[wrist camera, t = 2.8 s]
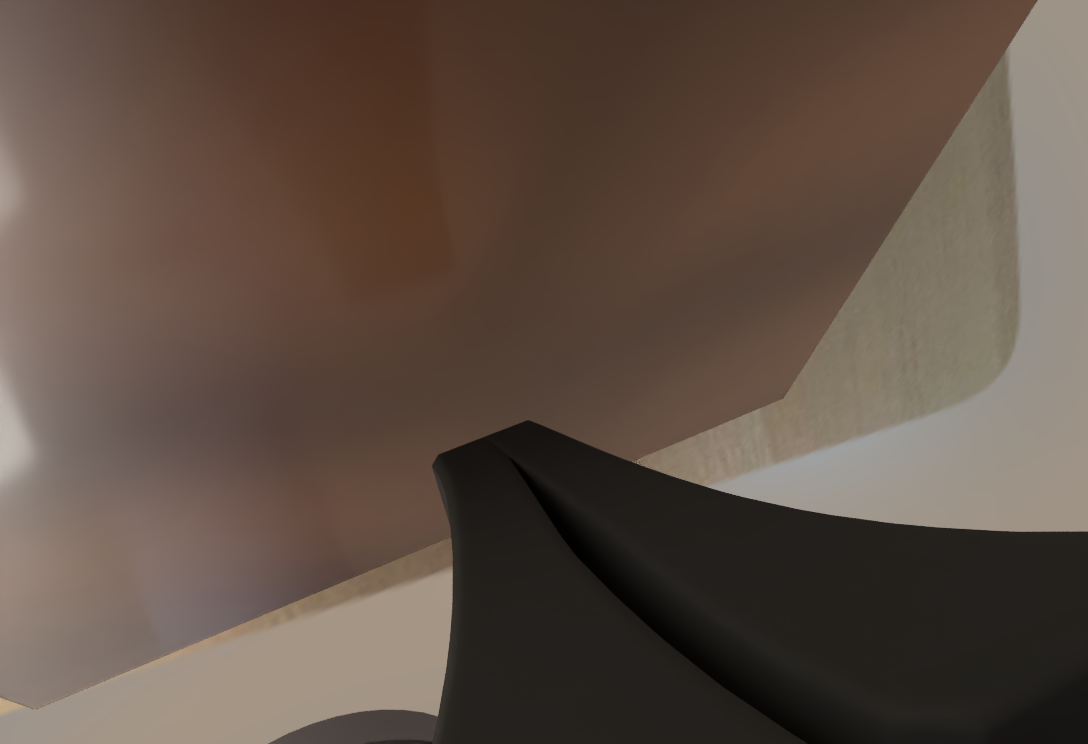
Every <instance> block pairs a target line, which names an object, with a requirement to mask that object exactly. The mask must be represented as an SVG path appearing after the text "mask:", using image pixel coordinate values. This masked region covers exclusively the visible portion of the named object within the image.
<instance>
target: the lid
mask: <svg viewBox="0 0 1088 744" xmlns="http://www.w3.org/2000/svg"><path fill="white" fill-rule="evenodd" d="M1036 2H1037V0H0V697H1V698H4V699H6V700H9V701H12V702H15V703H18V704H20V705H23V706H26V707H29V708H31V709H38V708H41V707H43V706H46V705H48V704H51V703H53V702H55V701H58V700H60V699H63V698H65V697H67V696H70V695H72V694H75V693H77V692H79V691H82V690H84V689H87V688H89V687H91V686H94V685H96V684H99V683H101V682H103V681H106V680H108V679H111V678H113V677H115V676H118V675H120V674H123V673H125V672H127V671H130V670H132V669H135V668H137V667H139V666H142V665H144V664H147V663H149V662H151V661H154V660H156V659H159V658H161V657H163V656H166V655H168V654H171V653H173V652H175V651H178V650H180V649H183V648H185V647H187V646H190V645H192V644H195V643H197V642H199V641H202V640H204V639H207V638H209V637H211V636H214V635H216V634H219V633H221V632H223V631H226V630H228V629H231V628H233V627H235V626H238V625H240V624H243V623H245V622H247V621H250V620H252V619H255V618H257V617H259V616H262V615H264V614H267V613H269V612H271V611H274V610H276V609H279V608H281V607H283V606H286V605H288V604H291V603H293V602H295V601H298V600H300V599H303V598H305V597H307V596H310V595H312V594H315V593H317V592H319V591H322V590H324V589H327V588H329V587H331V586H334V585H336V584H339V583H341V582H343V581H346V580H348V579H351V578H353V577H356V576H358V575H360V574H363V573H365V572H368V571H370V570H372V569H375V568H377V567H380V566H382V565H384V564H387V563H389V562H392V561H394V560H396V559H399V558H401V557H404V556H406V555H408V554H411V553H413V552H416V551H418V550H420V549H423V548H425V547H428V546H430V545H432V544H435V543H437V542H440V541H442V540H444V539H447V538H449V537H451V528H450V524H449V521H448V518H447V515H446V511H445V508H444V505H443V501H442V498H441V495H440V491H439V488H438V485H437V482H436V478H435V475H434V472H433V468H432V464H433V462H434V461H435V459H436V457H437V456H438V454H441V453H443V452H446V451H449V450H451V449H454V448H456V447H459V446H462V445H464V444H467V443H469V442H472V441H475V440H477V439H480V438H482V437H485V436H488V435H490V434H493V433H495V432H498V431H501V430H503V429H506V428H508V427H511V426H514V425H516V424H519V423H521V422H524V421H527V420H530V421H532V422H535V423H538V424H540V425H542V426H545V427H547V428H550V429H552V430H554V431H557V432H559V433H561V434H564V435H566V436H568V437H571V438H573V439H576V440H578V441H580V442H583V443H585V444H588V445H590V446H592V447H595V448H597V449H600V450H602V451H605V452H607V453H610V454H612V455H614V456H617V457H620V458H622V459H625V460H627V461H630V462H632V461H634V460H636V459H639V458H641V457H644V456H646V455H648V454H651V453H653V452H656V451H658V450H660V449H663V448H665V447H668V446H670V445H672V444H675V443H677V442H680V441H682V440H684V439H687V438H689V437H692V436H694V435H697V434H699V433H701V432H704V431H706V430H709V429H711V428H713V427H716V426H718V425H721V424H723V423H725V422H728V421H730V420H733V419H735V418H737V417H740V416H742V415H745V414H747V413H749V412H752V411H754V410H757V409H759V408H761V407H764V406H766V405H769V404H771V403H773V402H776V401H778V400H781V399H783V398H784V396H785V395H786V393H787V392H788V390H789V389H790V387H791V385H792V384H793V382H794V381H795V379H796V378H797V376H798V374H799V373H800V371H801V370H802V368H803V367H804V365H805V364H806V362H807V360H808V359H809V357H810V356H811V354H812V353H813V351H814V349H815V348H816V346H817V345H818V343H819V342H820V340H821V338H822V337H823V335H824V334H825V332H826V331H827V329H828V328H829V326H830V324H831V323H832V321H833V320H834V318H835V317H836V315H837V313H838V312H839V310H840V309H841V307H842V306H843V304H844V303H845V301H846V299H847V298H848V296H849V295H850V293H851V292H852V290H853V288H854V287H855V285H856V284H857V282H858V281H859V279H860V277H861V276H862V274H863V273H864V271H865V270H866V268H867V267H868V265H869V263H870V262H871V260H872V259H873V257H874V256H875V254H876V252H877V251H878V249H879V248H880V246H881V245H882V243H883V241H884V240H885V238H886V237H887V235H888V234H889V232H890V231H891V229H892V227H893V226H894V224H895V223H896V221H897V220H898V218H899V216H900V215H901V213H902V212H903V210H904V209H905V207H906V205H907V204H908V202H909V201H910V199H911V198H912V196H913V195H914V193H915V191H916V190H917V188H918V187H919V185H920V184H921V182H922V180H923V179H924V177H925V176H926V174H927V173H928V171H929V169H930V168H931V166H932V165H933V163H934V162H935V160H936V159H937V157H938V155H939V154H940V152H941V151H942V149H943V148H944V146H945V144H946V143H947V141H948V140H949V138H950V137H951V135H952V133H953V132H954V130H955V129H956V127H957V126H958V124H959V123H960V121H961V119H962V118H963V116H964V115H965V113H966V112H967V110H968V108H969V107H970V105H971V104H972V102H973V101H974V99H975V97H976V96H977V94H978V93H979V91H980V90H981V88H982V87H983V85H984V83H985V82H986V80H987V79H988V77H989V76H990V74H991V72H992V71H993V69H994V68H995V66H996V65H997V63H998V61H999V60H1000V58H1001V57H1002V55H1003V54H1004V52H1005V51H1006V49H1007V47H1008V46H1009V44H1010V43H1011V41H1012V40H1013V38H1014V36H1015V35H1016V33H1017V32H1018V30H1019V29H1020V27H1021V25H1022V24H1023V22H1024V21H1025V19H1026V17H1027V16H1028V15H1029V13H1030V11H1031V10H1032V8H1033V7H1034V5H1035V3H1036Z"/></svg>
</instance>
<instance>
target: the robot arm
mask: <svg viewBox="0 0 1088 744" xmlns="http://www.w3.org/2000/svg"><path fill="white" fill-rule="evenodd" d="M432 468H433V472H434V475H435V478H436V482H437V485H438V488H439V491H440V495H441V498H442V501H443V505H444V508H445V511H446V515H447V518H448V521H449V524H450V528H451V539H452V550H453V604H452V605H453V606H452V621H451V633H450V643H449V651H448V660H447V668H446V674H445V680H444V686H443V692H442V697H441V703H440V709H439V715H438V720H437V724H436V729H435V734H434V738H433V743H432V744H1088V532H1009V531H988V530H971V529H953V528H936V527H925V526H914V525H904V524H893V523H884V522H878V521H871V520H863V519H856V518H848V517H841V516H834V515H827V514H821V513H816V512H810V511H804V510H799V509H794V508H789V507H785V506H780V505H776V504H771V503H766V502H762V501H758V500H753V499H749V498H744V497H740V496H736V495H732V494H729V493H725V492H721V491H718V490H714V489H711V488H708V487H704V486H701V485H698V484H695V483H691V482H688V481H685V480H682V479H678V478H675V477H672V476H669V475H666V474H663V473H660V472H658V471H655V470H652V469H649V468H646V467H644V466H641V465H638V464H635V463H633V462H630V461H627V460H625V459H622V458H620V457H617V456H614V455H612V454H610V453H607V452H605V451H602V450H600V449H597V448H595V447H592V446H590V445H588V444H585V443H583V442H580V441H578V440H576V439H573V438H571V437H568V436H566V435H564V434H561V433H559V432H557V431H554V430H552V429H550V428H547V427H545V426H542V425H540V424H538V423H535V422H532V421H530V420H527V421H524V422H521V423H519V424H516V425H514V426H511V427H508V428H506V429H503V430H501V431H498V432H495V433H493V434H490V435H488V436H485V437H482V438H480V439H477V440H475V441H472V442H469V443H467V444H464V445H462V446H459V447H456V448H454V449H451V450H449V451H446V452H443V453H441V454H438V456H437V457H436V459H435V461H434V462H433V464H432Z"/></svg>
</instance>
